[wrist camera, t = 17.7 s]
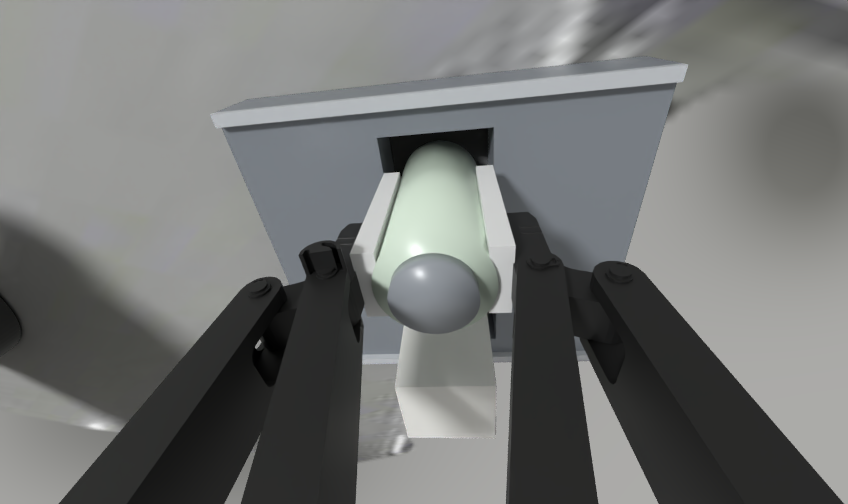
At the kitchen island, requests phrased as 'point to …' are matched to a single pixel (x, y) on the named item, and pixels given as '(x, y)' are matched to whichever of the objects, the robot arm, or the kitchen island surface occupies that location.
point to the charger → (447, 383)
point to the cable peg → (436, 245)
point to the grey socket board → (507, 151)
